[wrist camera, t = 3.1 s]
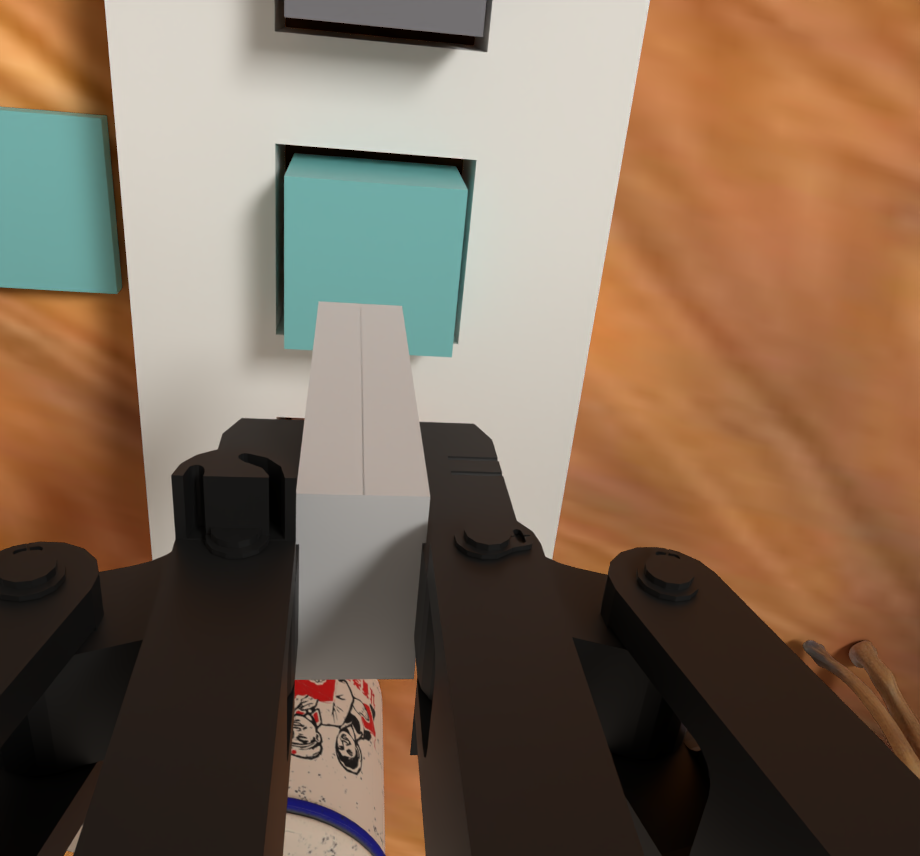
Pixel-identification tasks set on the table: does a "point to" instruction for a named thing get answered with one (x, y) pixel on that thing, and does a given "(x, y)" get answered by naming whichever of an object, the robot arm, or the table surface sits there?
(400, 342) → the robot arm
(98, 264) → the tile
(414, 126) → the button board
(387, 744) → the table surface
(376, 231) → the teal button
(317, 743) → the teacup with lid
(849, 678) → the lion figurine
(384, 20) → the charcoal button
